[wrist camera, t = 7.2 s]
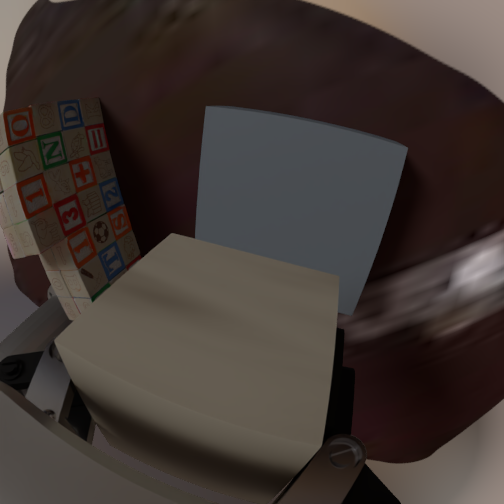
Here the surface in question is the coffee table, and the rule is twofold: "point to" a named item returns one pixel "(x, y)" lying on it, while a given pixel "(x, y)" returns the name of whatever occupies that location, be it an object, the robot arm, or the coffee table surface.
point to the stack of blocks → (64, 199)
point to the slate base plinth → (297, 192)
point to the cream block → (210, 365)
